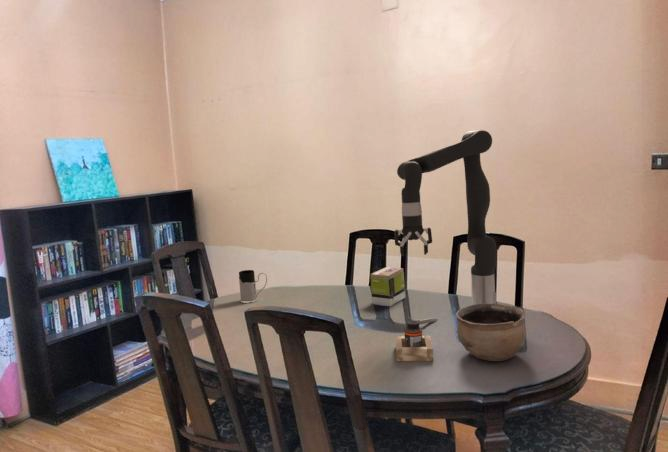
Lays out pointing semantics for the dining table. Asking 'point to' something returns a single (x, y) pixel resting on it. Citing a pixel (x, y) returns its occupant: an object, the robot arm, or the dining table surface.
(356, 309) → the dining table surface
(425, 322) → the caliper
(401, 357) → the square sleeve
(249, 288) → the glass holder
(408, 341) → the supplement bottle
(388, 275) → the tea box
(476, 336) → the ceramic bowl
